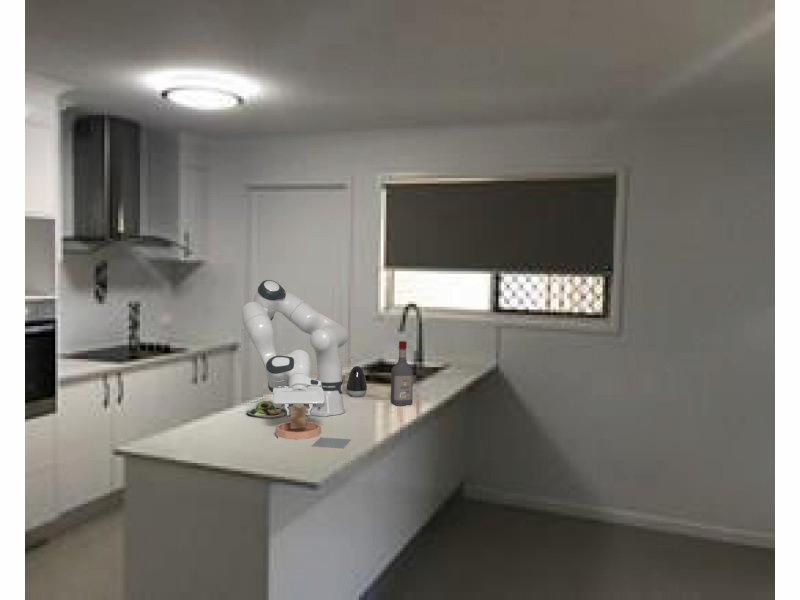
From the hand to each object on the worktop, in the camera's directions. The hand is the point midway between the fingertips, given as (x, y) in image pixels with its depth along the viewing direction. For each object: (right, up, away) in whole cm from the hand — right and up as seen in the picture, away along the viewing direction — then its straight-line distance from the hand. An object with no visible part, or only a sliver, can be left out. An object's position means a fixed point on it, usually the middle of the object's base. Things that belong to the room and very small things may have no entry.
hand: (298, 415), depth 254 cm
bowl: (0, -8, +1) cm, 8 cm away
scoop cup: (0, -4, +1) cm, 4 cm away
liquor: (+40, -5, +60) cm, 73 cm away
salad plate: (-19, -6, +35) cm, 41 cm away
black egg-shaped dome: (+17, -4, +76) cm, 78 cm away
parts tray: (+14, -9, -11) cm, 20 cm away
